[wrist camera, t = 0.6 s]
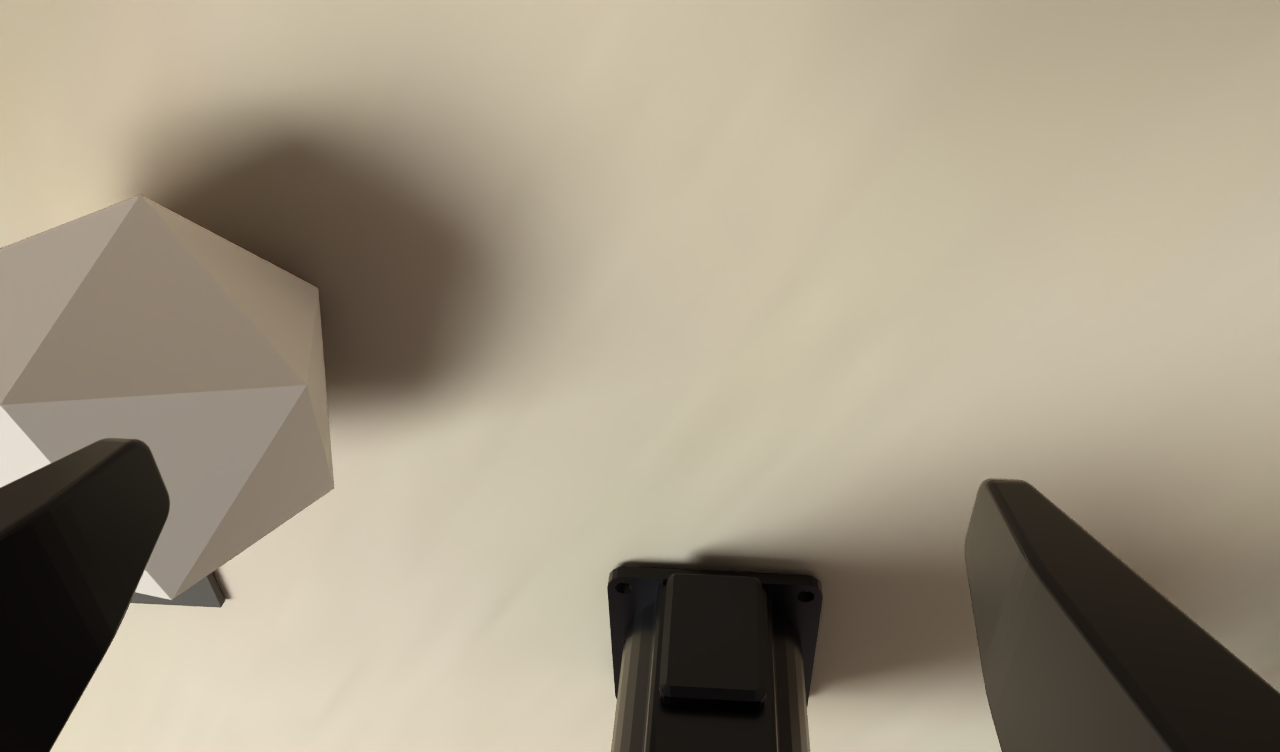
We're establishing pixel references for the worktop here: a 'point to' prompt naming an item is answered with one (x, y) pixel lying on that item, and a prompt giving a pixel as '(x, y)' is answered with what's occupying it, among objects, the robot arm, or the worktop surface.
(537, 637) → the worktop surface
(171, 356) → the die
